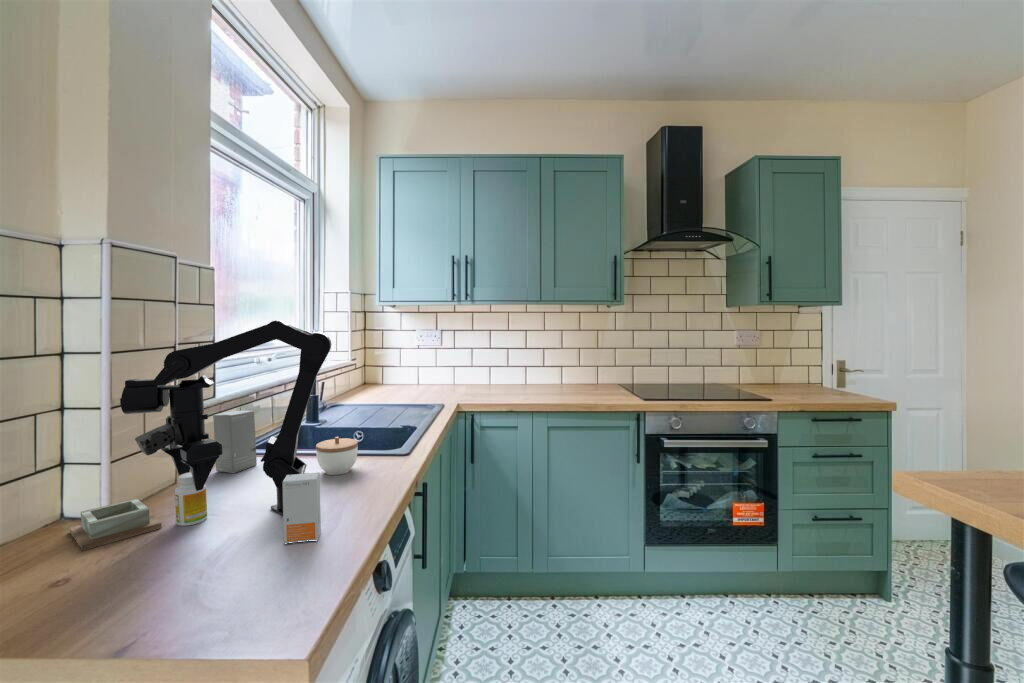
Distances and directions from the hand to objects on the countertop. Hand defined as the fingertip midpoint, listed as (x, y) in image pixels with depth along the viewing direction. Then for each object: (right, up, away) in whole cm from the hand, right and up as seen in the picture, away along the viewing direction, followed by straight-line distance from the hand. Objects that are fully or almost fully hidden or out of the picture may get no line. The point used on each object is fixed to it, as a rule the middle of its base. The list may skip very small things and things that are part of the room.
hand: (191, 485), depth 99 cm
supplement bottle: (0, -8, 0) cm, 8 cm away
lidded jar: (+19, -6, +31) cm, 37 cm away
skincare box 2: (+27, -8, -8) cm, 29 cm away
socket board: (-12, -8, -4) cm, 15 cm away
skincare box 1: (-11, -6, +35) cm, 37 cm away
